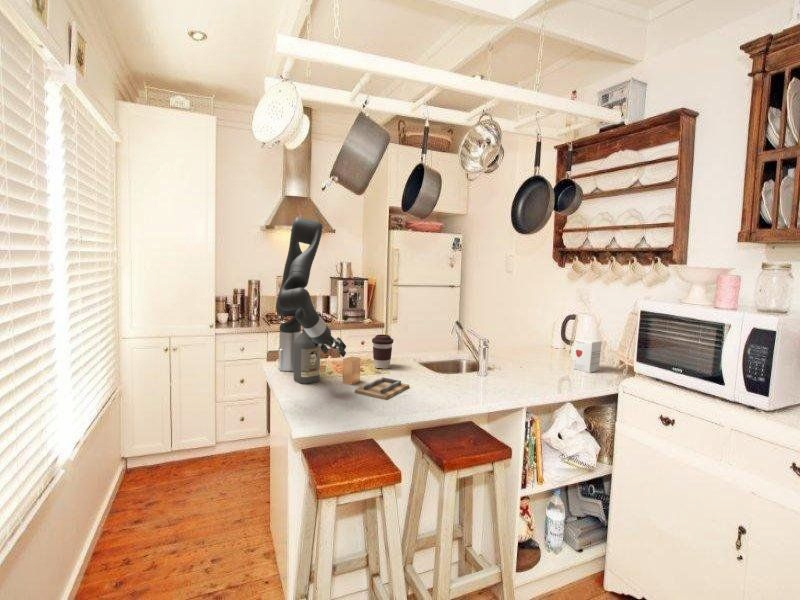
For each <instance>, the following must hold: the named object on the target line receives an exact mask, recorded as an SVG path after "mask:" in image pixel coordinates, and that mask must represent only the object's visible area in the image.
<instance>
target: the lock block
mask: <svg viewBox="0 0 800 600" xmlns="http://www.w3.org/2000/svg"><path fill="white" fill-rule="evenodd" d="M342 359H343V360H342V383H343V384H345V385H350V386H352V385H355V384H357V383H360V382H361V364H362V363H361V361H362V359H361V357H358V356H348V357H346V358H342Z"/></svg>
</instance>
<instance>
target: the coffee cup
mask: <svg viewBox="0 0 800 600" xmlns="http://www.w3.org/2000/svg"><path fill="white" fill-rule="evenodd" d="M371 343H373V344H372V345H373V346H372V355H373V358H372V359H373V366H375V367H378V368H383V369H382V370H387V369H389V368H390V364H391V359H392V352H393V351H392V350H393V343H394V338H392V337H391V335H389V334H382V333H380V334H376V335H375V336H374V337H373V338H372V339H371ZM375 367H374V368H375Z"/></svg>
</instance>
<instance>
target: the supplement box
mask: <svg viewBox="0 0 800 600" xmlns="http://www.w3.org/2000/svg"><path fill="white" fill-rule="evenodd" d="M574 343H575V344H574V354H573V355H574V356H573V367H572V369H574V370H578V371H582V372H585V373H588V374H591V373H594V372H598V371H599V370H600V364H601V363H600V362H601V352H602V351H601V350H602V343H603V342H602V340H599V339H596V338H595V339H594V338H589V337H582V338H576V339H575V342H574Z"/></svg>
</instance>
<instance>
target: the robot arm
mask: <svg viewBox="0 0 800 600" xmlns="http://www.w3.org/2000/svg"><path fill="white" fill-rule="evenodd" d="M322 234H323V225H322V222H319V221H317V220H313V219H309V218H305V217H300V216H299V217H295V219H294V220H293V222H292V226H291V231H290V238H289V247H288V251H287V256H286V260H285V264H284V269H283V274H282V281H281V284H280V285H281V286H280V288H279V292H278V295H277V298H276V302H275V312H276V314H277V315H278V316H281V317H291V318H290V319H289V320H287V321H285V322H282V323H281V324H280V325H279V333H278V335H279V336H278V337H279V340H278V341H279V342H278V344H279V345H278V346H279V347H278V370H279V371H280V372H281V371H282V372H294V342H295V340H296V339H297V337H298V336H299V335H300V334H301V333H302V329H303V328H304V330H305V332H306V333H307V334H308V335H309V338H308V339H309V340H310V341H311V343H312V344H313V346H314V347H316V346H318V348H320V351H322V353H324V354H328V351H329V348H330V349H331V350H332V351H334V350H335V351H337V353H338V354H339V355H340V356H341V358H344V357H345V356H346V355H347V351H346V348H347V345H346V344H345V343H344V341H343V340H342V338H340V336H338V337H337V338H334V336H333V335H332V331H331V328H329V326H328V324H327V323H326V322H325V320H324V319H323V318H322V317H321V316H320V315H319V313H318V312H317V310H316V309H315V307H314V304H313V302H312V298H311V294H310V293H309V291H308V289H306V287H307V286H308V284H309V280H310V275H311V271H312V270H311V269H312V266H313V263H314V260H315V257H316V255H317V254H316V253H317V251H318V248H319V245H320V242H321V239H322ZM300 243H301V244H305V245H309V246H307V247H308V248H306V249H305V250H304V251H302V249H301V247H300ZM333 345H334V346H333Z"/></svg>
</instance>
